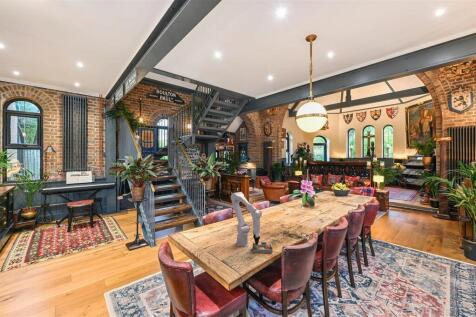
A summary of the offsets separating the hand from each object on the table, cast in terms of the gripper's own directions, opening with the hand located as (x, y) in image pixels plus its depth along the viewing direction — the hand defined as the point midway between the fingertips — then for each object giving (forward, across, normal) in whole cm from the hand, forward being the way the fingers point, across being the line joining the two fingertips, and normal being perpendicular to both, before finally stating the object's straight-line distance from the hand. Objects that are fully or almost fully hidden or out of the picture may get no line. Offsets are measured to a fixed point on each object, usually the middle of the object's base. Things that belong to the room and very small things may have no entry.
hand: (256, 242), depth 163 cm
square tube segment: (+6, +8, -7) cm, 12 cm away
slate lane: (+6, 0, -5) cm, 8 cm away
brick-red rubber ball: (+4, 0, -9) cm, 10 cm away
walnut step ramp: (+6, 0, 0) cm, 6 cm away
